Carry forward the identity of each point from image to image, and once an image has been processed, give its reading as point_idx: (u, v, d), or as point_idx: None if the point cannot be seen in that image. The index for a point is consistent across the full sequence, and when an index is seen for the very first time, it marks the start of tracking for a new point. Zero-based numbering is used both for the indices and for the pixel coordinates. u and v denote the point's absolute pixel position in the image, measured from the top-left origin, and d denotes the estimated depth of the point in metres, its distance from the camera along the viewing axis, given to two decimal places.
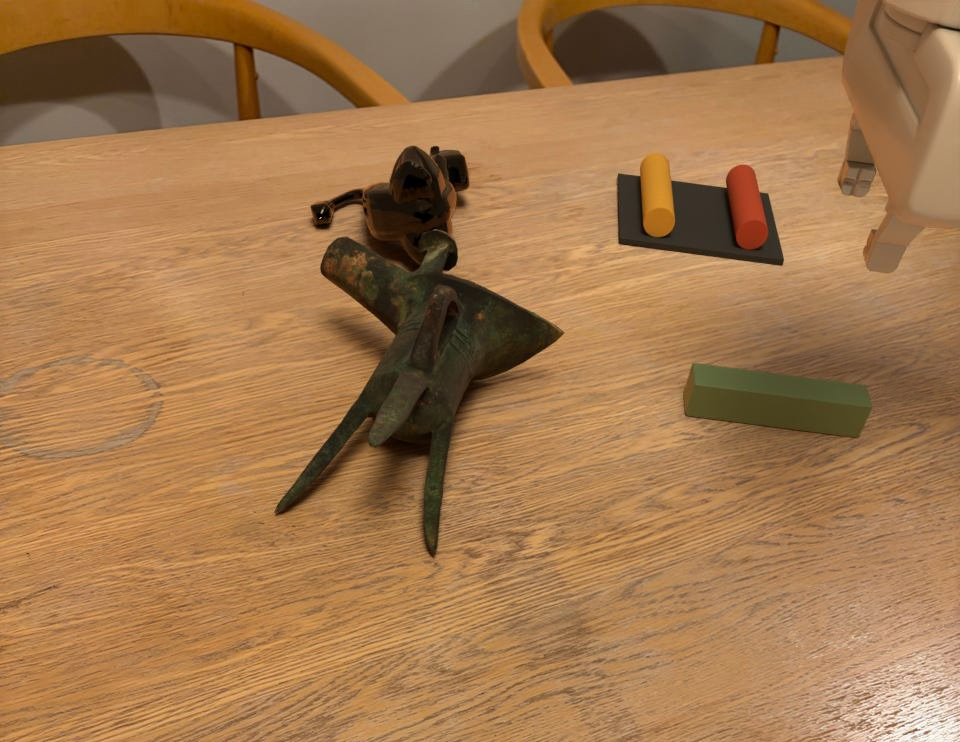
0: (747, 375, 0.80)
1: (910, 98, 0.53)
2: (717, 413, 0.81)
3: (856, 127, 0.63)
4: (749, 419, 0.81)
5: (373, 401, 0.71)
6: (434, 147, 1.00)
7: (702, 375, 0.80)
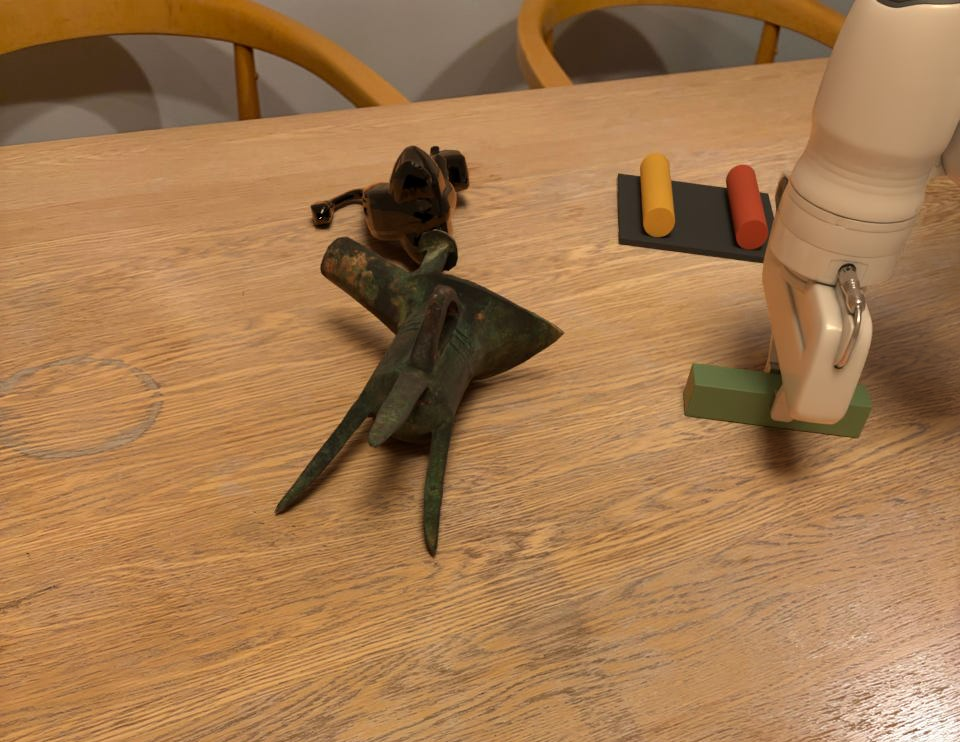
0: (747, 375, 0.80)
1: (800, 326, 0.72)
2: (717, 413, 0.81)
3: None
4: (749, 419, 0.81)
5: (373, 401, 0.71)
6: (434, 147, 1.00)
7: (702, 375, 0.80)
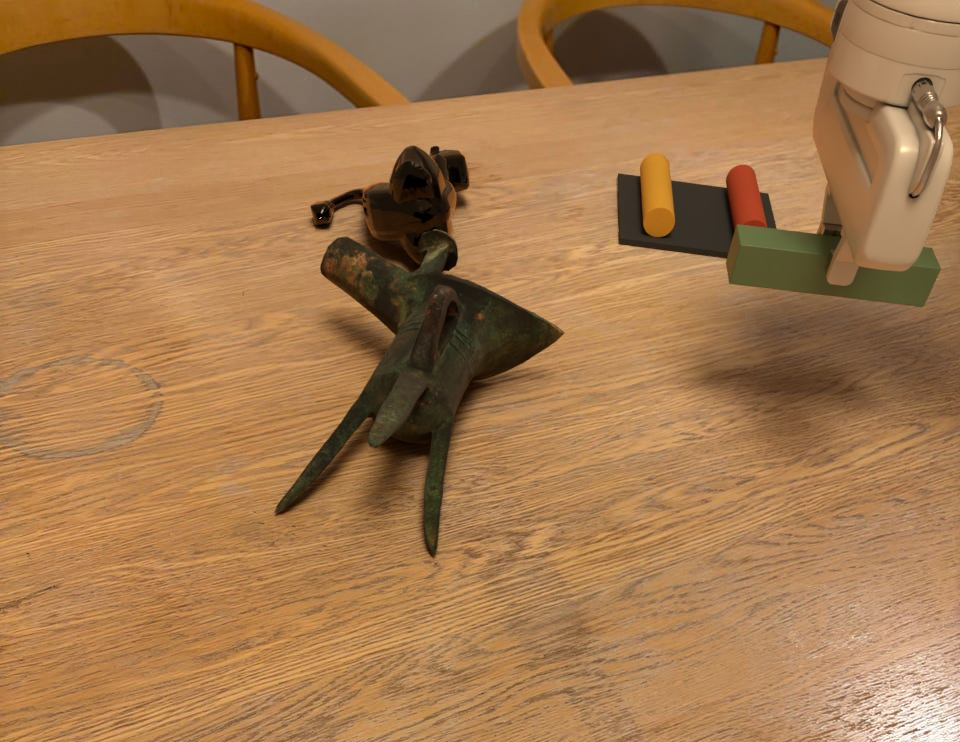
0: (798, 236, 0.72)
1: (865, 161, 0.63)
2: (765, 280, 0.72)
3: (830, 194, 0.71)
4: (801, 287, 0.72)
5: (373, 401, 0.71)
6: (434, 147, 1.00)
7: (748, 236, 0.71)
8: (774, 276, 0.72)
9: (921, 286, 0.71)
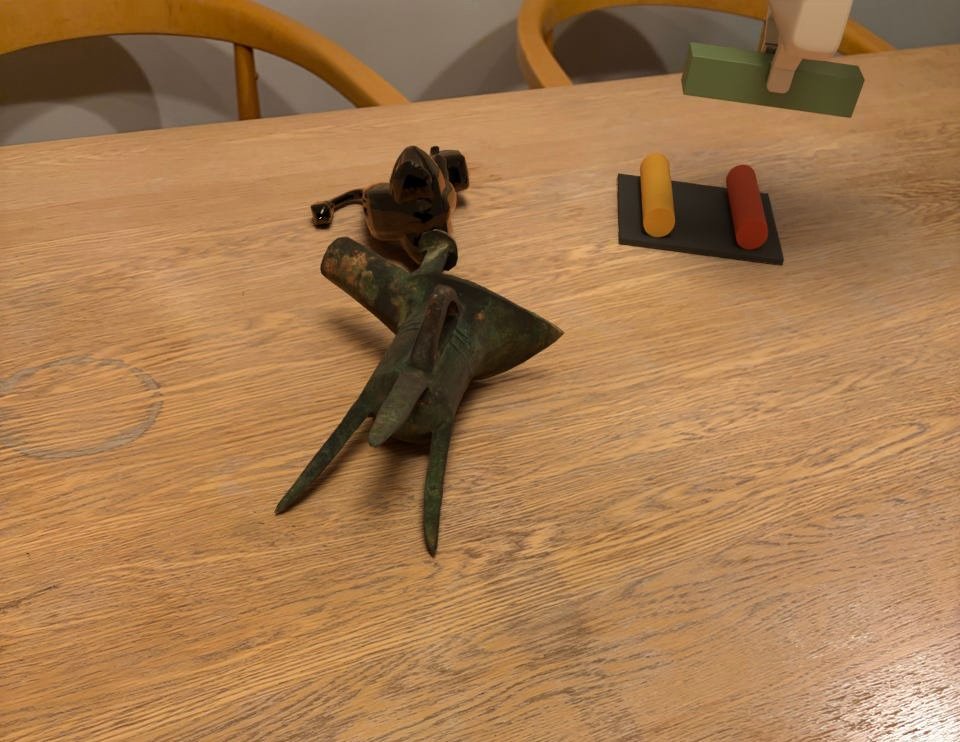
0: (743, 52, 0.83)
1: None
2: (714, 91, 0.83)
3: (771, 16, 0.82)
4: (745, 97, 0.83)
5: (373, 401, 0.71)
6: (434, 147, 1.00)
7: (699, 50, 0.82)
8: (722, 87, 0.83)
9: (848, 97, 0.82)
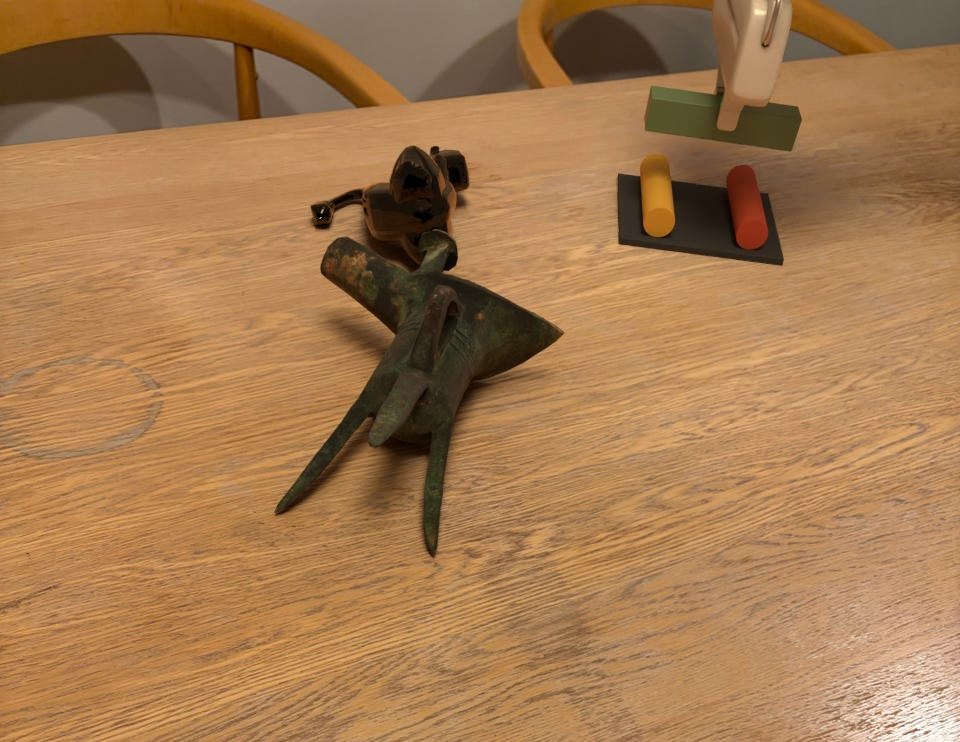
0: (697, 94, 0.95)
1: (737, 27, 0.87)
2: (671, 128, 0.95)
3: None
4: (699, 133, 0.96)
5: (373, 401, 0.71)
6: (434, 147, 1.00)
7: (659, 93, 0.94)
8: (678, 124, 0.95)
9: (788, 134, 0.95)
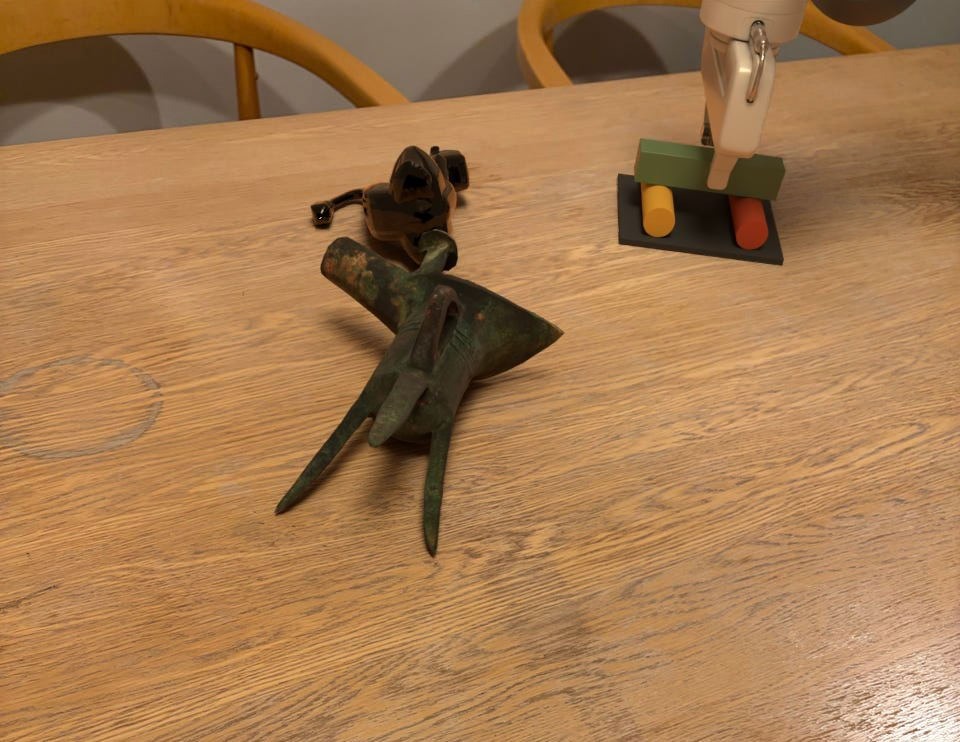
0: (684, 147, 0.99)
1: (723, 81, 0.90)
2: (660, 179, 0.99)
3: None
4: (686, 184, 0.99)
5: (373, 401, 0.71)
6: (434, 147, 1.00)
7: (647, 146, 0.98)
8: (666, 176, 0.99)
9: (772, 184, 0.98)
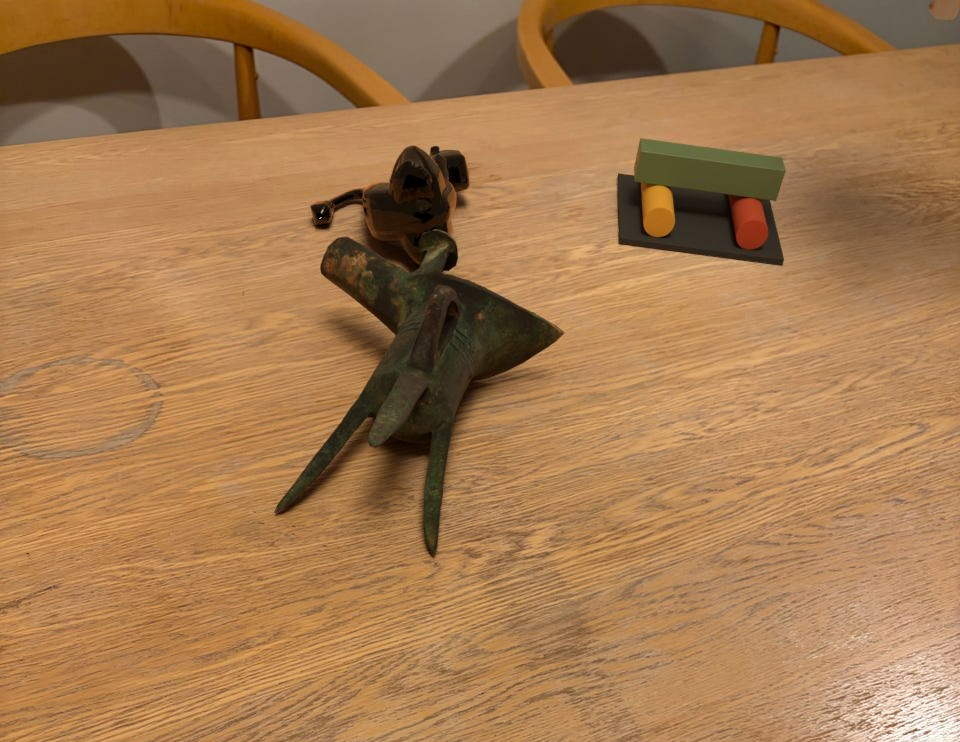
0: (684, 147, 0.99)
1: None
2: (660, 179, 0.99)
3: None
4: (686, 184, 0.99)
5: (373, 401, 0.71)
6: (434, 147, 1.00)
7: (647, 146, 0.98)
8: (666, 176, 0.99)
9: (772, 184, 0.98)
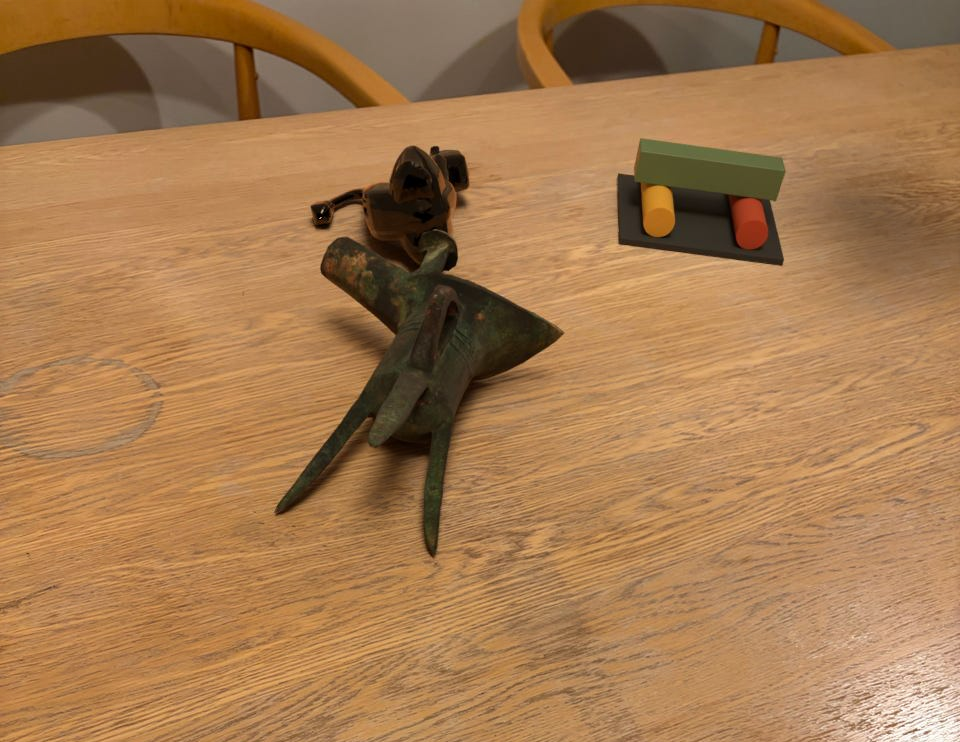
0: (684, 147, 0.99)
1: None
2: (660, 179, 0.99)
3: None
4: (686, 184, 0.99)
5: (373, 401, 0.71)
6: (434, 147, 1.00)
7: (647, 146, 0.98)
8: (666, 176, 0.99)
9: (772, 184, 0.98)
